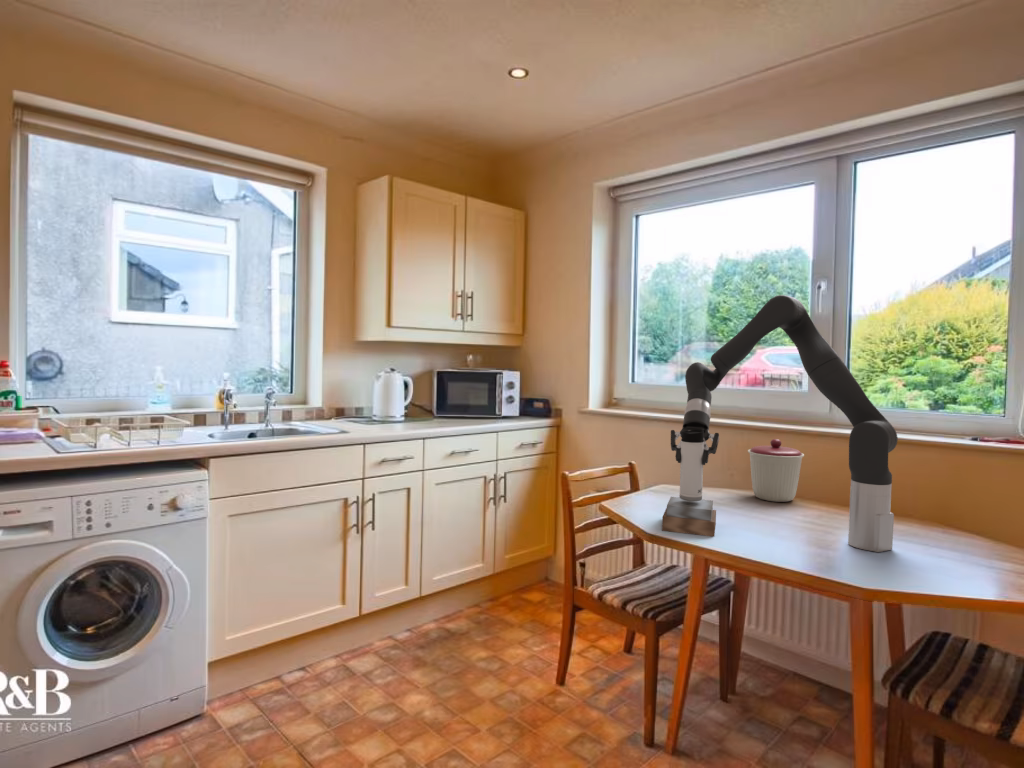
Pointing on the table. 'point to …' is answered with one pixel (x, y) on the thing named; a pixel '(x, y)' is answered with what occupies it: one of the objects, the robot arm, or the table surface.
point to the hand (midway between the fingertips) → (691, 462)
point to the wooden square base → (689, 517)
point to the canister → (775, 471)
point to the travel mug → (691, 465)
